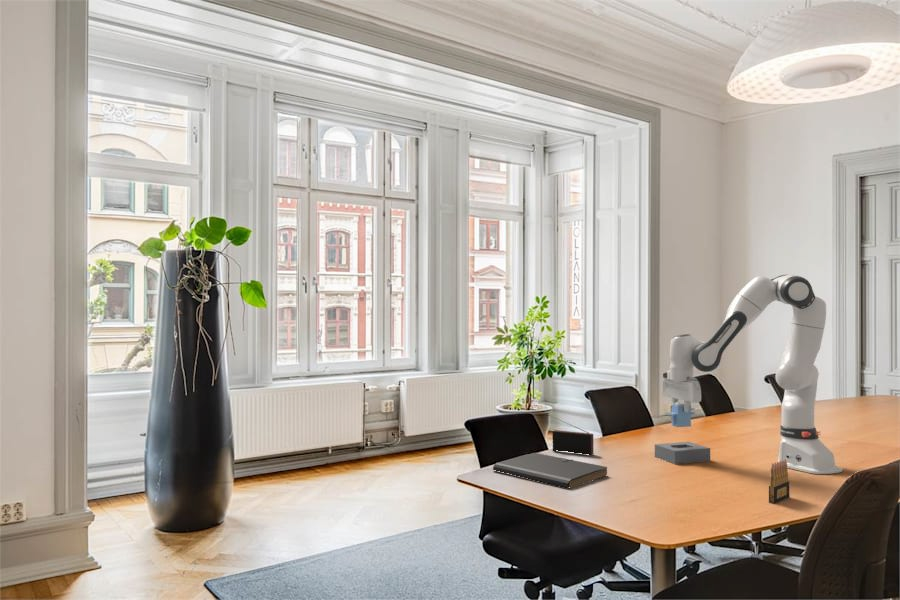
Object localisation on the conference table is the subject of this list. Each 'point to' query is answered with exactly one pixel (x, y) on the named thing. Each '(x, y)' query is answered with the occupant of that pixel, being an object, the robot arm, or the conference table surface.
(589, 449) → the radio
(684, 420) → the servo
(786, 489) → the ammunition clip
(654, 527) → the conference table surface
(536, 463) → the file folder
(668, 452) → the grey socket block
